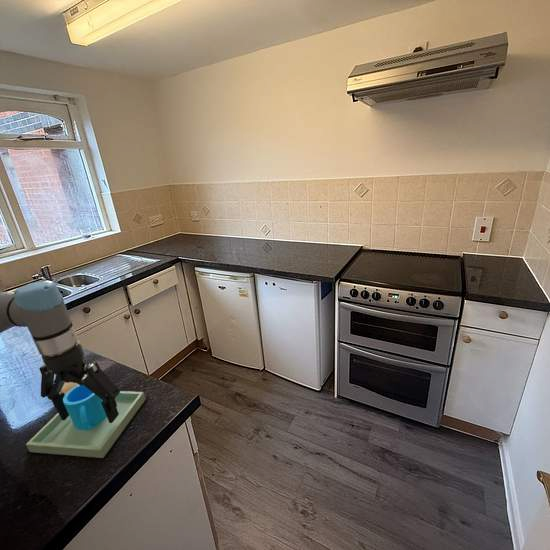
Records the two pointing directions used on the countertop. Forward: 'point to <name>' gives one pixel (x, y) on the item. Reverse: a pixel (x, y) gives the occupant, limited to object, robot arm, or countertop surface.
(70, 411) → the mug
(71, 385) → the coaster
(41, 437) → the tray
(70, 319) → the robot arm
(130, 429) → the countertop surface
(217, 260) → the countertop surface
